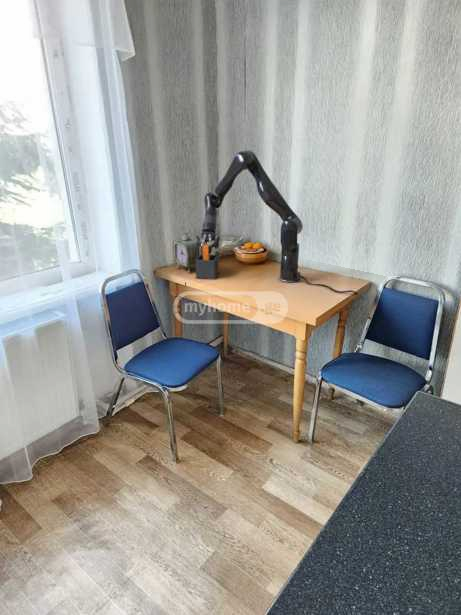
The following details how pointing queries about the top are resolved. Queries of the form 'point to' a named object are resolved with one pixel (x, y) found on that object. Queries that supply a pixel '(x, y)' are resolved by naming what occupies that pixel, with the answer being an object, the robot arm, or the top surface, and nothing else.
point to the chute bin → (206, 267)
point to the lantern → (214, 249)
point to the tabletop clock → (185, 251)
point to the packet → (206, 252)
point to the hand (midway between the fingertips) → (205, 252)
